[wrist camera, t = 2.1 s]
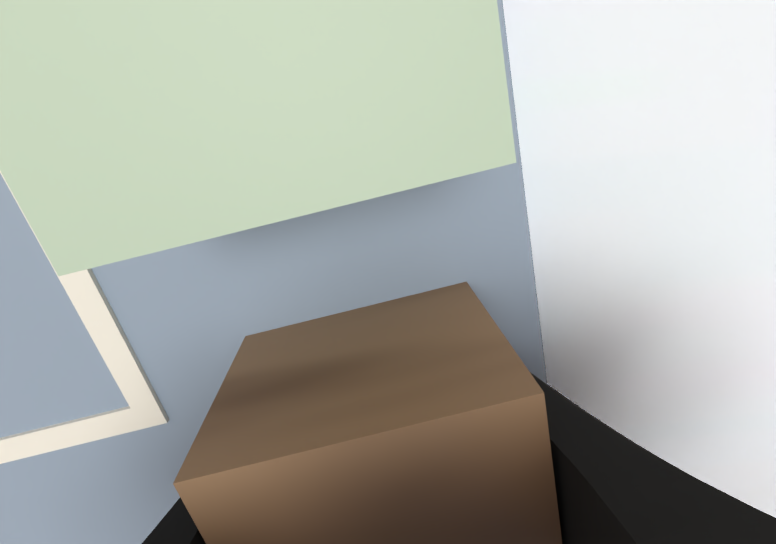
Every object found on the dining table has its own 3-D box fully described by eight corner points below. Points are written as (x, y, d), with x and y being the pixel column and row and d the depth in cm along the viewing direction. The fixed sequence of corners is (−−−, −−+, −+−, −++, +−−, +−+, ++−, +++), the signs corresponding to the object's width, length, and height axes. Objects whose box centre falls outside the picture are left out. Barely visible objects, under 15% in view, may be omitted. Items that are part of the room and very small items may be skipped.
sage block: (441, 142, 8) (515, 163, 4) (192, 204, 8) (58, 276, 4) (382, -191, 6) (423, -617, 3) (65, -111, 6) (-329, -424, 3)
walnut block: (497, 454, 11) (572, 628, 7) (311, 499, 11) (290, 696, 7) (466, 281, 9) (544, 392, 6) (245, 336, 9) (172, 484, 6)
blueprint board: (549, 504, 13) (566, 537, 12) (-10, 640, 13) (-40, 685, 12) (421, -479, 6) (435, -602, 5) (-759, -175, 6) (-983, -235, 5)
